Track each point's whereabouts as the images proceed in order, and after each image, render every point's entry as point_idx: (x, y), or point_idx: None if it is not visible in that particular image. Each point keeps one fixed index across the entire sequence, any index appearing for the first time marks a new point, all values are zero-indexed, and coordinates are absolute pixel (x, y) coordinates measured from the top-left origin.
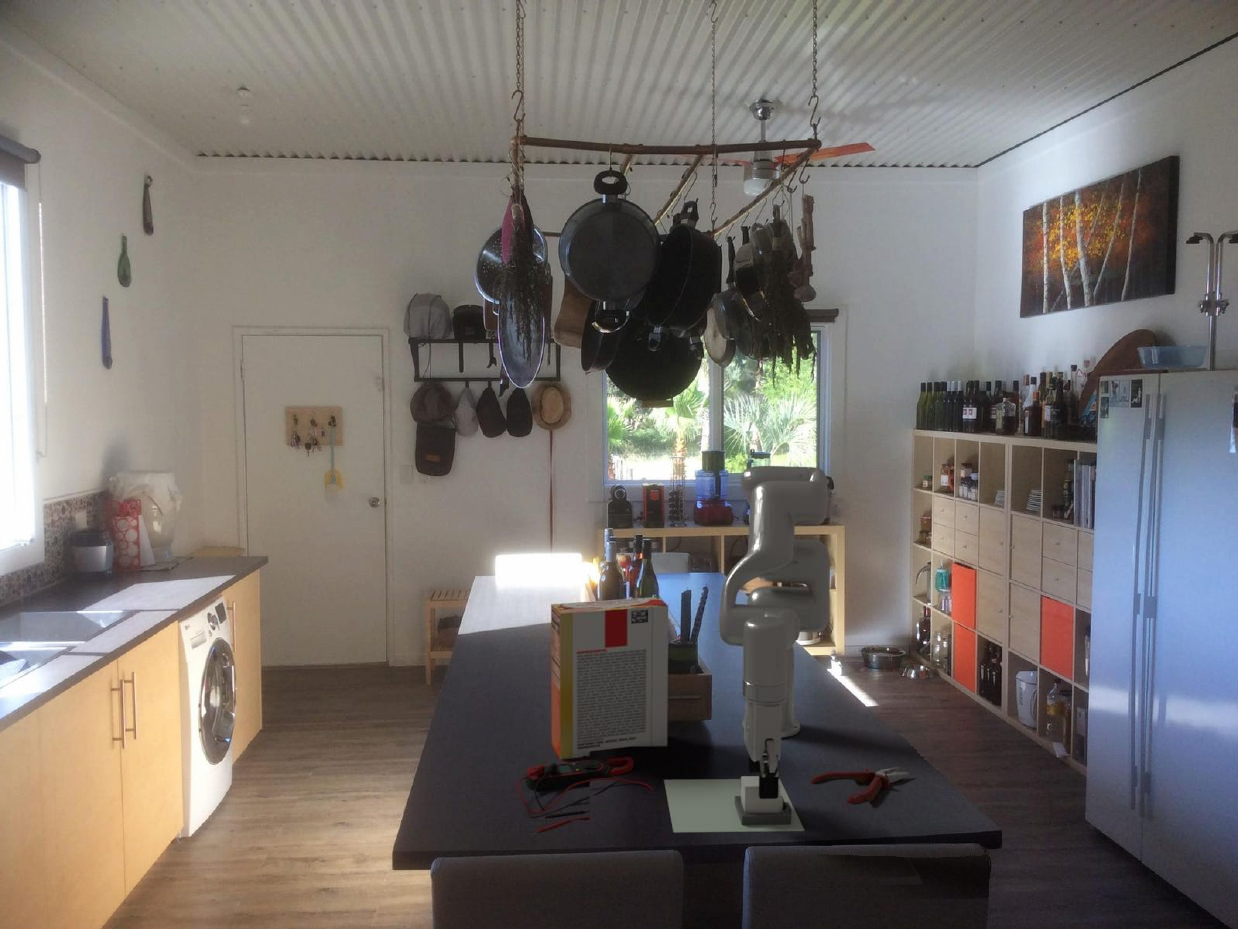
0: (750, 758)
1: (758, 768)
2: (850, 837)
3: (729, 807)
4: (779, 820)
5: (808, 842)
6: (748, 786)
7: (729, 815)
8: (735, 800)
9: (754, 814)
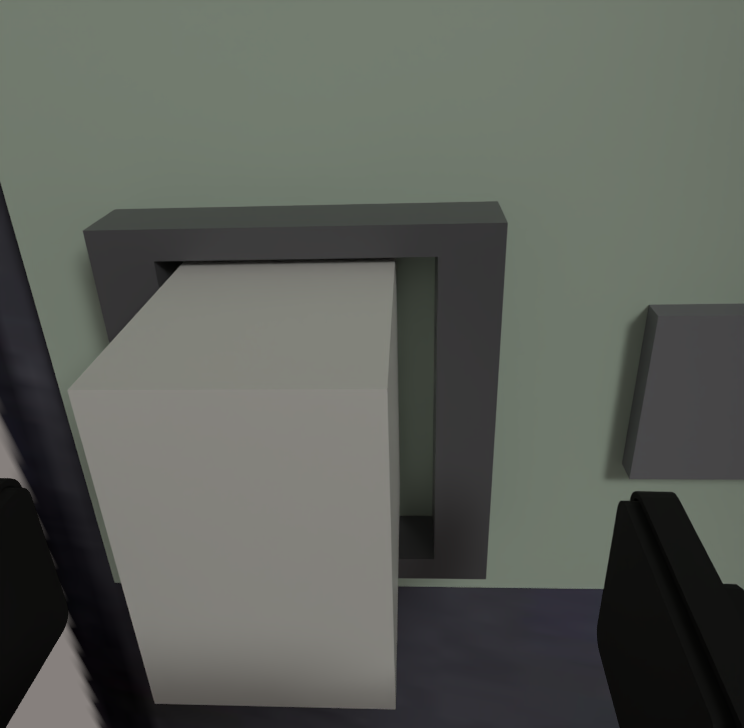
0: (678, 647)
1: (620, 608)
2: (164, 725)
3: (432, 143)
4: None
5: (69, 560)
6: (79, 430)
7: (276, 122)
8: (459, 217)
9: None
